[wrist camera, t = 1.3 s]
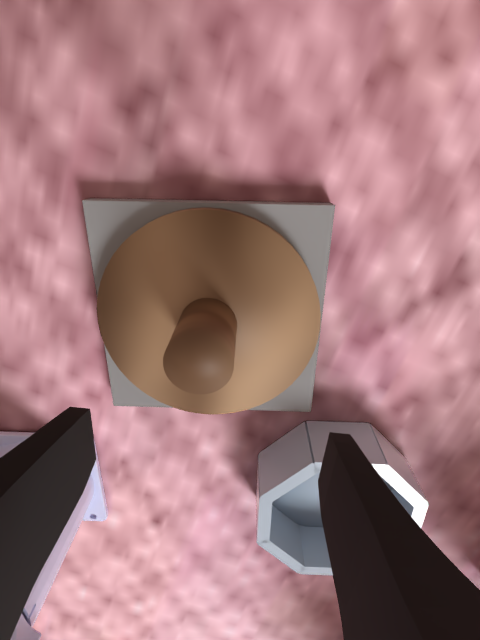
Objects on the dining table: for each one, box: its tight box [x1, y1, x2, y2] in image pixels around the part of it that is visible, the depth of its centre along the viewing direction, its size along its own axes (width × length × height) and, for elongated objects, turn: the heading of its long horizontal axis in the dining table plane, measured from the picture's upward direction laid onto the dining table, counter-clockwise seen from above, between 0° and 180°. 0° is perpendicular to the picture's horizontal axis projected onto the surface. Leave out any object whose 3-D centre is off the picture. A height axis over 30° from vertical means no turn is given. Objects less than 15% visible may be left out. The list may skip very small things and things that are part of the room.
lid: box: [97, 207, 321, 414], centre depth 18 cm, size 12×12×5 cm
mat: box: [82, 198, 335, 412], centre depth 20 cm, size 12×12×1 cm
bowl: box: [256, 421, 429, 575], centre depth 24 cm, size 10×10×4 cm
